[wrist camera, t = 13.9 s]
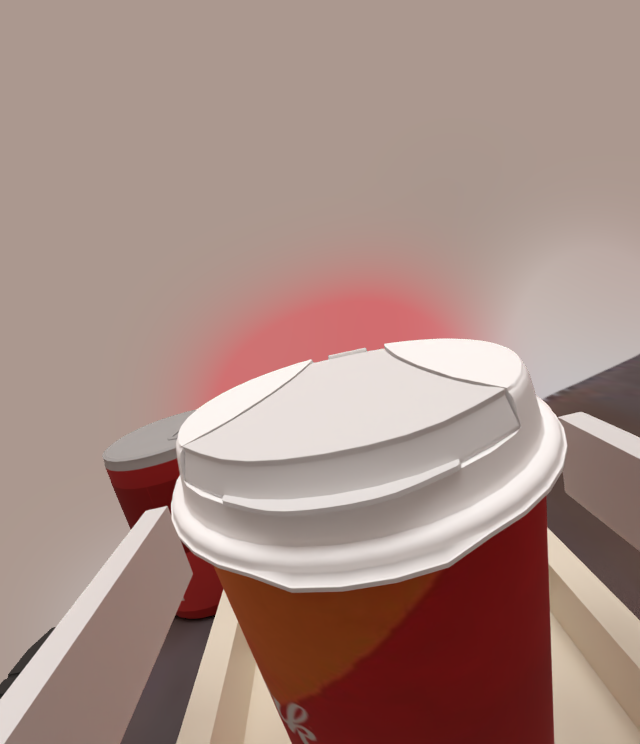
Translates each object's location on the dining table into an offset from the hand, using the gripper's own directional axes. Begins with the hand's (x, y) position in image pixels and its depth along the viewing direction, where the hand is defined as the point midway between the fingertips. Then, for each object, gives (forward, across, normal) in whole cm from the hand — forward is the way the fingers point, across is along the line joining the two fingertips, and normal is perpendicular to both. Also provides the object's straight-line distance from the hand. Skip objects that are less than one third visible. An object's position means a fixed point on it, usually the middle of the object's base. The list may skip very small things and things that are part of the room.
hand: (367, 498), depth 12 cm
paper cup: (-3, 0, -9) cm, 10 cm away
